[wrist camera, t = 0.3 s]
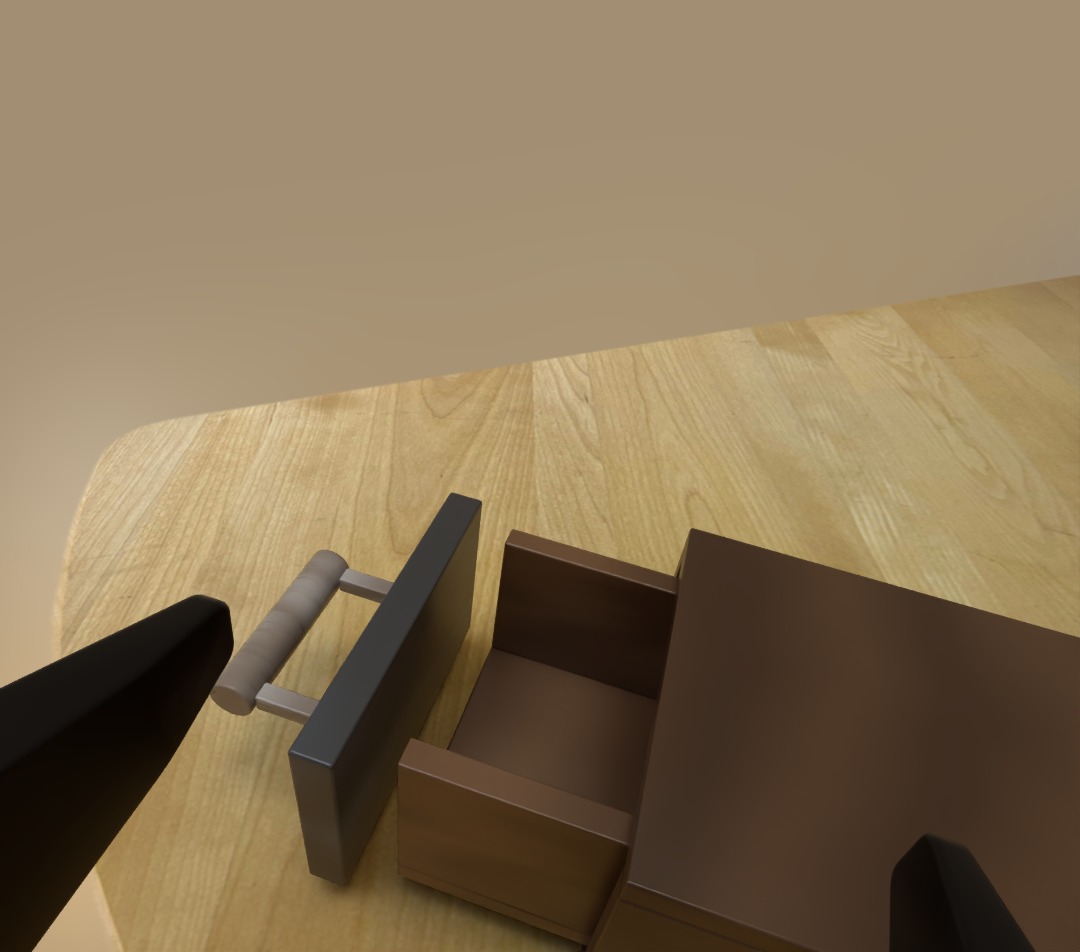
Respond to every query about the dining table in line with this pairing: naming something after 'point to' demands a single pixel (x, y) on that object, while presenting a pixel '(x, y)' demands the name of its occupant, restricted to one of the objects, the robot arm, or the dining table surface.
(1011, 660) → the cabinet
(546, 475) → the dining table surface
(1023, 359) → the dining table surface
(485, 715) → the drawer
